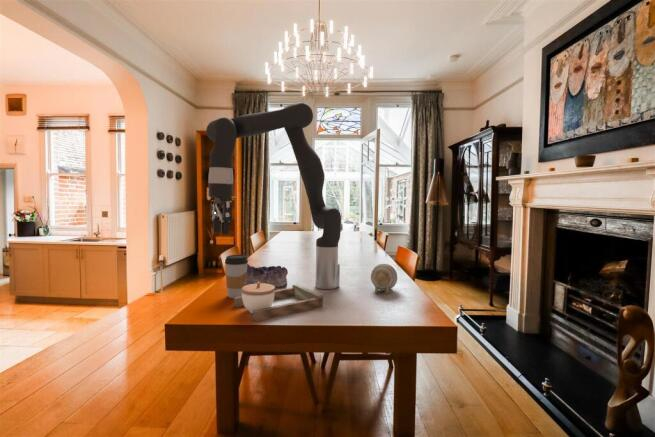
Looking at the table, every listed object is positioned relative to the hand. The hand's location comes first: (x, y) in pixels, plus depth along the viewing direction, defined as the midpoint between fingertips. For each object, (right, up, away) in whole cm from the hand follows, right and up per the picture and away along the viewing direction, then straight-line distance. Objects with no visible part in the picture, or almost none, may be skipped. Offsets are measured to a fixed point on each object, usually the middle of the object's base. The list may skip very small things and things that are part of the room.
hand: (220, 233), depth 106 cm
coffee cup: (0, -25, +17) cm, 30 cm away
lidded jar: (+12, -26, +2) cm, 28 cm away
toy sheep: (+58, -25, +28) cm, 69 cm away
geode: (+7, -24, +33) cm, 41 cm away
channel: (+18, -25, +7) cm, 32 cm away
